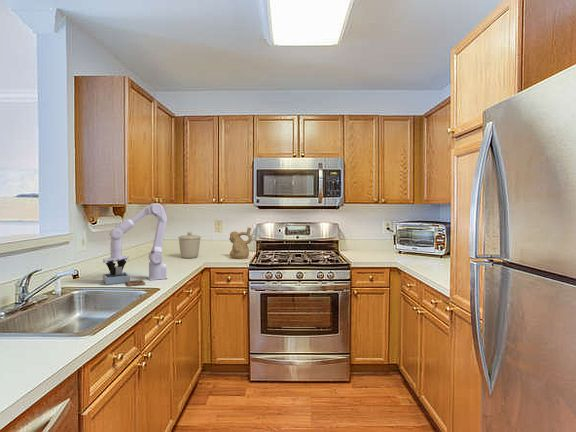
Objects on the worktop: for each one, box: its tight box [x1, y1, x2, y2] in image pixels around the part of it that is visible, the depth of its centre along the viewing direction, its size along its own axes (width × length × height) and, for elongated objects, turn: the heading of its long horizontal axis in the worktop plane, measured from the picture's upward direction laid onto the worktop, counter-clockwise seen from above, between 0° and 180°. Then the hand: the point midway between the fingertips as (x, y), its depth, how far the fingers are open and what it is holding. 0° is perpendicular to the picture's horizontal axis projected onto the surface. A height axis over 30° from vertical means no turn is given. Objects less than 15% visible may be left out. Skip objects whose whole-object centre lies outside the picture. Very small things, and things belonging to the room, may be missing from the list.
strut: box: [111, 265, 123, 277], centre depth 211 cm, size 4×4×8 cm
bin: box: [102, 271, 131, 286], centre depth 211 cm, size 12×12×4 cm
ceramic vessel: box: [229, 227, 253, 260], centre depth 307 cm, size 17×20×25 cm
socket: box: [125, 279, 146, 287], centre depth 206 cm, size 8×8×1 cm
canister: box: [177, 231, 202, 259], centre depth 305 cm, size 18×18×21 cm
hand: (116, 274), depth 211 cm, fingers open, 4 cm apart
